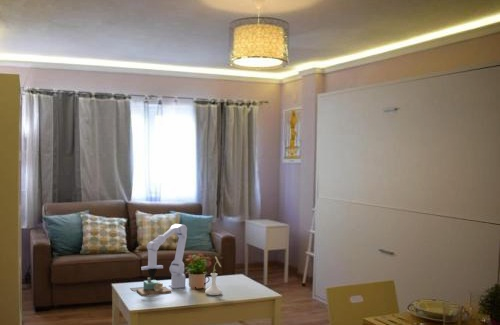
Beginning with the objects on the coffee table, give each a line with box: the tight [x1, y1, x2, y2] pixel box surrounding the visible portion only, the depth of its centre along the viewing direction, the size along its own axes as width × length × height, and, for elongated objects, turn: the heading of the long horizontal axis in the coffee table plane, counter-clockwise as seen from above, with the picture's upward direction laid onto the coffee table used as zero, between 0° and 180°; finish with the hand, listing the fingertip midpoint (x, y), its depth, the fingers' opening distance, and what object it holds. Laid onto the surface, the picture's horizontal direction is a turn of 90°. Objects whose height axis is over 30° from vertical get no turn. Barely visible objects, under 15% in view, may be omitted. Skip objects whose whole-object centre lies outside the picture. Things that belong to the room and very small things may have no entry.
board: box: [136, 286, 172, 297], centre depth 345 cm, size 20×12×2 cm, turn 119°
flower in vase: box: [204, 256, 223, 296], centre depth 344 cm, size 13×11×25 cm
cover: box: [142, 277, 160, 290], centre depth 344 cm, size 8×8×8 cm
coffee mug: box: [204, 273, 210, 285], centre depth 359 cm, size 12×9×10 cm
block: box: [154, 281, 164, 291], centre depth 346 cm, size 4×4×6 cm
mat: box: [129, 286, 144, 292], centre depth 352 cm, size 10×8×1 cm
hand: (151, 279), depth 344 cm, fingers closed
